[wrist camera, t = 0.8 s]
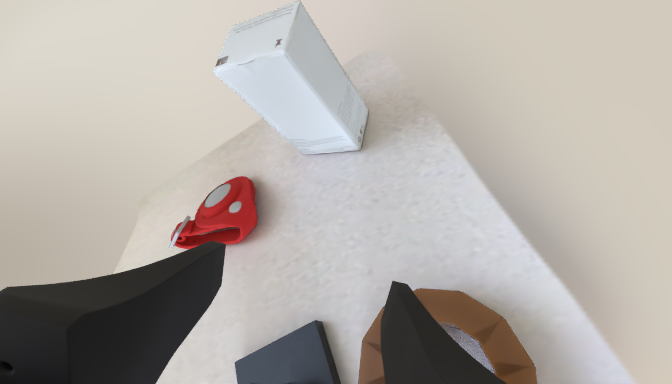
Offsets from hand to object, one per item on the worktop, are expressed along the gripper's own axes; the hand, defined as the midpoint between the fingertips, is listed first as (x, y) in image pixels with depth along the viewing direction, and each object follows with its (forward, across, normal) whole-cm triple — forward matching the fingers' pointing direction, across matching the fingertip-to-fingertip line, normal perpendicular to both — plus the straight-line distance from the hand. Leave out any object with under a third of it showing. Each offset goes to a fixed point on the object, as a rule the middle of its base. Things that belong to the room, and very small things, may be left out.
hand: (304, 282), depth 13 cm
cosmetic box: (+27, +2, -2) cm, 27 cm away
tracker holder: (+25, +13, +10) cm, 30 cm away
